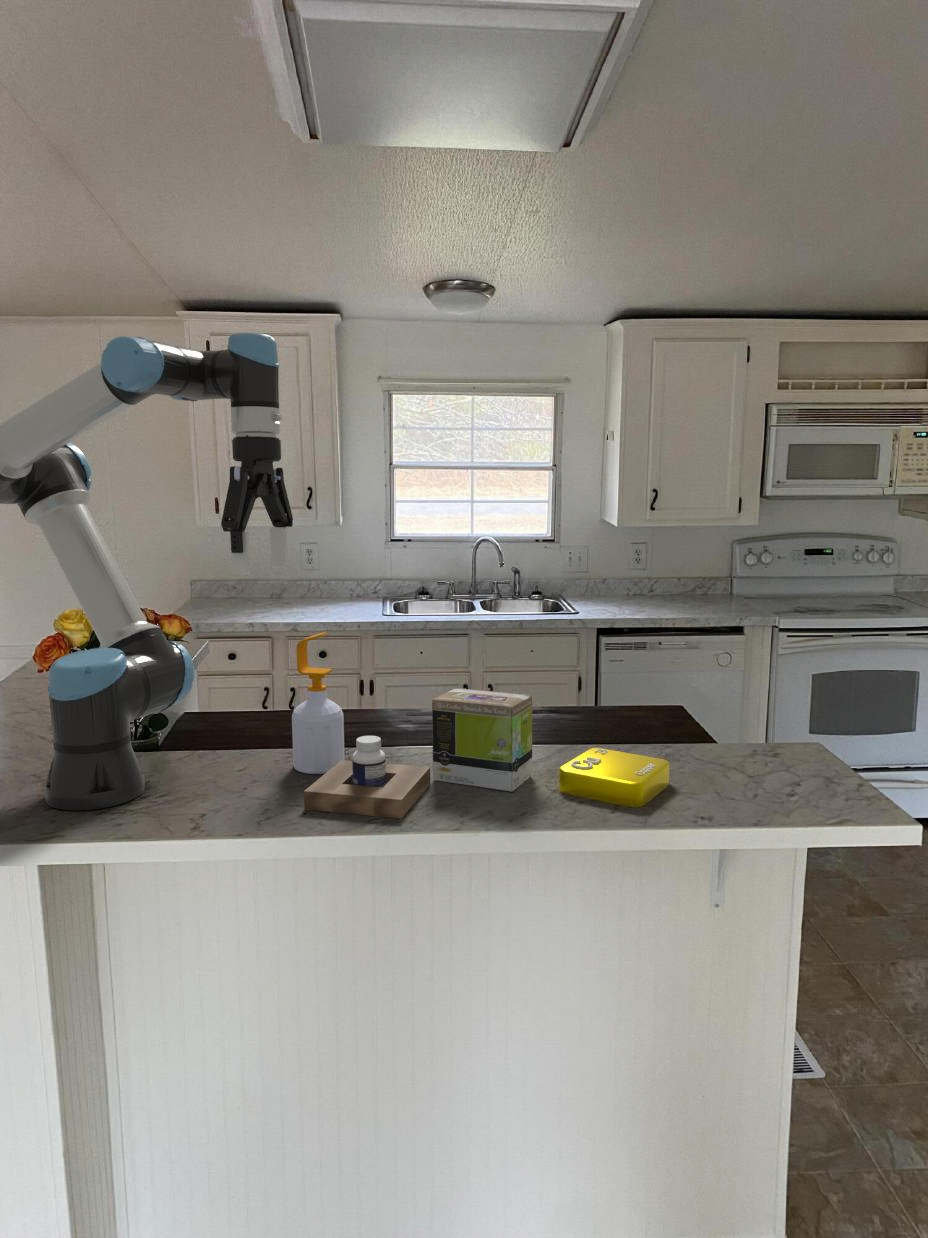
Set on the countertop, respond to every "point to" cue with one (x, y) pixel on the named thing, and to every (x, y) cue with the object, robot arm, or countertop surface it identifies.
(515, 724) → the tea box
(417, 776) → the socket block
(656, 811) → the countertop surface
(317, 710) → the soap bottle
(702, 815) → the countertop surface
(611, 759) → the element tile
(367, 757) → the pill bottle
